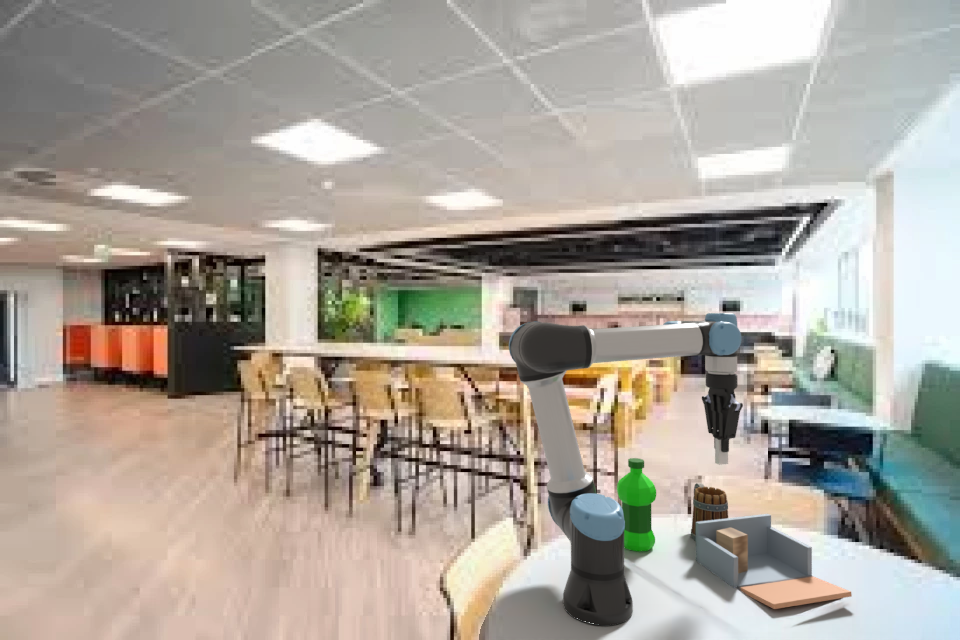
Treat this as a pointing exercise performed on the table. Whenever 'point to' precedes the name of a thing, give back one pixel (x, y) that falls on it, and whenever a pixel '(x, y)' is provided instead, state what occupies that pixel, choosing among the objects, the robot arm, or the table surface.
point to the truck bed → (753, 551)
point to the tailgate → (794, 591)
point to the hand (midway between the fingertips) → (721, 463)
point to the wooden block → (734, 545)
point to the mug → (708, 505)
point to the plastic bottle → (637, 507)
